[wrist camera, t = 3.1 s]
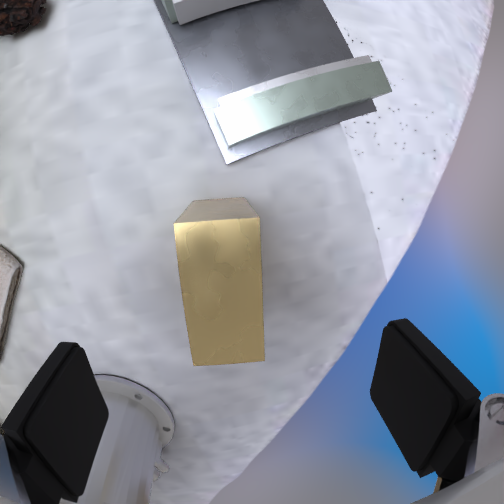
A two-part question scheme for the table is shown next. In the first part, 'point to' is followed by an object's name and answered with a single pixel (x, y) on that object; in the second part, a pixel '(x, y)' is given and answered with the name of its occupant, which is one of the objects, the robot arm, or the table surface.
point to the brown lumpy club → (19, 15)
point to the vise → (273, 72)
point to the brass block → (221, 281)
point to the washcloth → (7, 290)
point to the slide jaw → (197, 8)
